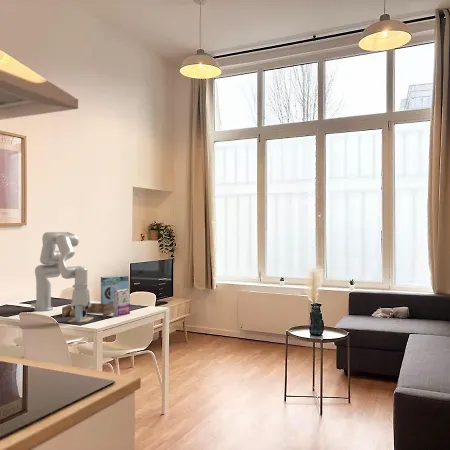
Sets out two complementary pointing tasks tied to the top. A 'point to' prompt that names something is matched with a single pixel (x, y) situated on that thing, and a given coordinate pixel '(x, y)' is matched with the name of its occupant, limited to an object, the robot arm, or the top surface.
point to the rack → (92, 309)
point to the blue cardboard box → (112, 287)
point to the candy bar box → (121, 302)
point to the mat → (81, 320)
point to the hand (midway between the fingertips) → (80, 316)
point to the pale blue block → (79, 313)
